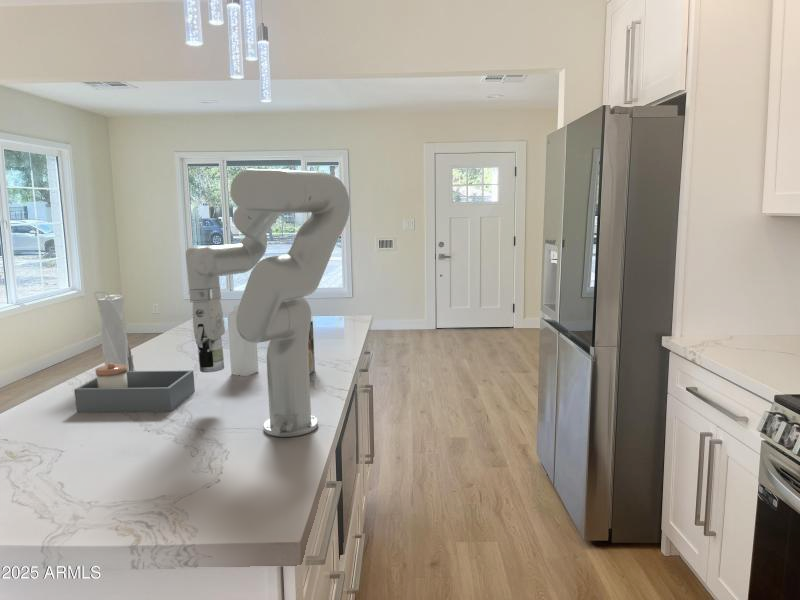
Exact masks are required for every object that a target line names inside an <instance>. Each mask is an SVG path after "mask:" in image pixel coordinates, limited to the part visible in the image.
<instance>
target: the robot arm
mask: <svg viewBox="0 0 800 600" xmlns="http://www.w3.org/2000/svg"><path fill="white" fill-rule="evenodd" d="M229 189H230V197H231V200H232V202H233V203H234V204H235V205H236V206H237V208H236V209H235V210H234V211H233V215H232V222H233V224H234V227H235V228H236V229H237V230H238V232H239V233H241V234H242V235H243V236H244V237H243V239H242V240H241V241H240V242H239V243H231V244H220V245H219V244H218V245H207V246H205V245H203V246H192V247H188V248H187V249H186V251H185V261H186V263H185V264H186V273H187V281H188V292H189V301H190V303H192V329H193V337H194V340H195V343H196V345H197V353H198V352H199V357H200V365H199V368H200V367H202V368H204V367H213V366H214V364H213V354H212V351H211V340H216V339H217V338H219V337H221V338H222V336H223V335H225V334H226V333H225V332H226V329H225V328H226V327H225V321H224V320H225V319H224V314H223V308H222V303H221V300H222V296H221V295H222V294H221V285H220V281H221V280H220V277H223V276H224V277H225V276H230V275H239V274H245V273H247V272H249V271H250V273H249V276H248V279H247V282H246V284H245V288H244V291H243V293H242V297H241V298H240V302H239V304H238V305H239V307H238V311H237V316H236V325H237V330H238V332H239V334H240V336H241V337H242V338H243V339H244V340H246V341H248V342H251V343H257V344H260V343H264V342H269V343H268V345H267V350H266V375H267V378H266V379H267V391H268V392H267V393H268V408H269V411H268V412H269V414H268V415H269V419H266V421H264V423H263V425H262V427H263V431H264V432H265V433H266V434H267V435H269V436H271V437H272V436H273V437H280V438H289V437H290V438H291V437H292V438H293V437H298V436H302V435H306V434H309V433H311V432H313V431H314V430H316V428H318V425H319V420H318V418H317V417H316V416H314V415H312V407H311V406H312V405H311V385H310V381H311V380H310V375H309V354H308V340H309V331H310V324H311V321H312V309H311V306H310V303H309V302H308V301H307V299H306V298H305V297H307V296H310V295H312V294H314V293H315V292H316V290H317V289H318V287H319V286H320V283H321V281H322V278H323V276H324V274H325V271H326V268H327V266H328V264H329V262H330V259H331V257H332V254H333V251H334V250H335V247H336V245H337V243H338V242H339V241H338V240H339V239H340V237H341V235H342V233H343V231H344V229H345V228H346V225H347V222H348V219H349V217H350V216H349V215H350V211H351V210H350V208H351V207H350V206H351V205H350V197H349V192H348V190H347V188H346V185H345V184H344V183H343V181H341V179H339V177H337V176H335V175H333V174H331V173H327V172H323V171H315V170H314V171H312V170H295V169H294V170H293V169H258V168H256V169H255V168H245V169H243V170H241V171H239V172H237V173H236V175H235V176H234V178H233V179H232V181H231V184H230V188H229ZM303 213H307V214H308V213H311V215H310V216H309V218H308V219H306V221H305V222H303V224H302V225H301V226H300V228H298V231H297V232H296V234H295V237H294V240H293V241H292V242H293V243H292V244H291V247H290V249H289V250H288V251H287V253H285V254H283V255H274V256H268V257H265V258H263V256H264V255H265V253H266V251H267V247H268V236H267V233H268V231H269V230H270V228H271V227H272V226H273V225H274V224H275V223H276V221H278V219H279V218H280V217H281V215H282V214H303ZM262 258H263V259H262ZM204 338H208V339H204ZM204 342H207V345H206V343H204ZM199 357H198V358H199Z"/></svg>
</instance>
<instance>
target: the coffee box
mask: <svg viewBox="0 0 800 600" xmlns="http://www.w3.org/2000/svg"><path fill="white" fill-rule="evenodd" d="M313 324H314V322H313V320H311V324H310V331H309V340H308V354H309V374H310V375H311V374H312V373H314V372H315V371H316V364H315V363H316V362H315V344H314V343H315V341H314V325H313ZM314 370H315V371H314Z"/></svg>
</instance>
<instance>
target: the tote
mask: <svg viewBox="0 0 800 600" xmlns="http://www.w3.org/2000/svg"><path fill="white" fill-rule="evenodd" d="M194 375H195V374H194V370H191V369H190V370H189V369H188V370H186V369H185V370H135V371H127V383H128V388H98V382H97V376H96V377H95V378H93V379H91V380H89V381H87V382H85V383H84V384H81V385H80V386H78V387H76V388H74V399H75V407H76V408H75V409H76V413H77V414H78V413H140V412H141V413H150V412H151V413H152V412H153V413H155V412H156V413H161V412H163V413H164V412H171V413H172V412H173V411H174V410H175V409H176V408H177V407H179V406H180V405H181V404H182V403H183V402H185V400H187V399H188V398H190V396H192V394H194V393H195V392H196V388H195V376H194Z"/></svg>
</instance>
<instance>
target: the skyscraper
mask: <svg viewBox="0 0 800 600" xmlns="http://www.w3.org/2000/svg"><path fill="white" fill-rule="evenodd" d="M93 294H94V297H95V299H96V303H97V309H98V311H99V316H100V320H101V348H102V356H103V361H104V366H106V365H108V364H109V363H113V364H123V365H126V366H127V371H136V369H135V365H134V355H132V349H131V348H132V346H131V345H130V344H131V343H130V341H129V340H128V335H127V330H126V327H125V324H124V321H123V320H124V311H125V310H124V309H125V308H124V307H125V296H124V295H122V294H118V293H117V294H115V293H113V294H108V293H107V292H105V291H98V290H97V291H94V292H93ZM97 294H102V295H104V298H99V299H98V296H97Z"/></svg>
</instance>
